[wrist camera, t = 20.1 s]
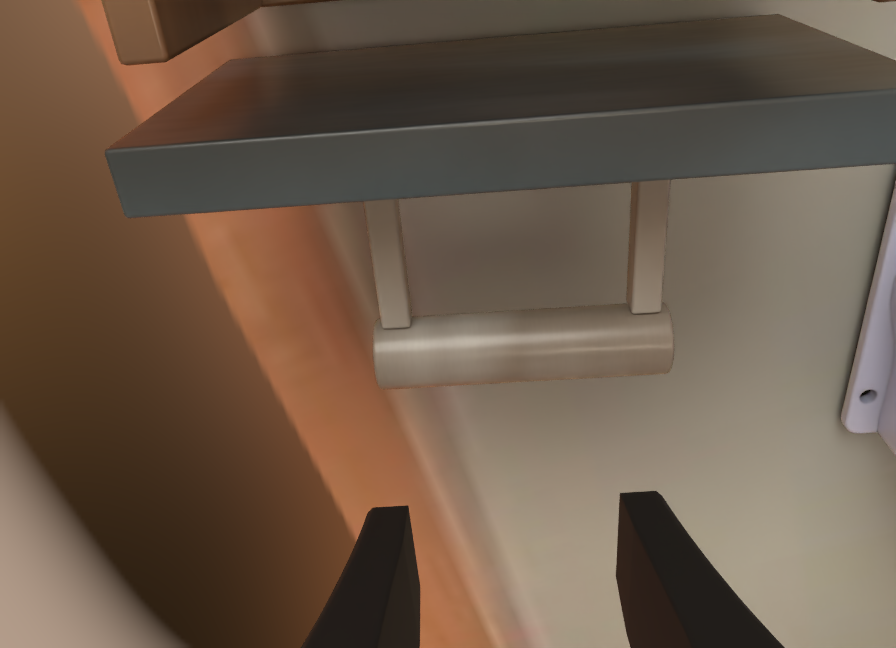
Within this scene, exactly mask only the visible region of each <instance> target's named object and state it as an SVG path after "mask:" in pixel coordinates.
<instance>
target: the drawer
mask: <svg viewBox="0 0 896 648" xmlns="http://www.w3.org/2000/svg"><path fill="white" fill-rule="evenodd" d="M328 1H340V0H102V4H103V7H104V11H105V14H106V17H107V21H108V24H109V28H110V31H111V34H112V38H113V41H114V45H115V48H116V51H117V55H118V58H119V61H120V62H121V64H124V65H137V64H149V63H161V62H167V61H168V60H170V59H172V58H174V57H175V56H177V55H179V54H181V53H182V52H184V51H186V50H188V49H189V48H191V47H193V46H195V45H196V44H198V43H200V42H201V41H203V40H205V39H207V38H208V37H210V36H212V35H214V34H215V33H217V32H219V31H221V30H222V29H224V28H226V27H228V26H229V25H231V24H233V23H234V22H236V21H238V20H240V19H241V18H243V17H245V16H247V15H248V14H250V13H252V12H254V11H255V10H257V9H259V8H260V7H271V6H282V5H294V4H305V3H317V2H328ZM872 1H876V2H890V1H896V0H872ZM105 157H106V159H107V163H108V166H109V169H110V172H111V175H112V178H113V181H114V184H115V187H116V190H117V193H118V196H119V199H120V203H121V206H122V209H123V212H124V215H125V216H126V217H127V218H138V217H152V216H167V215H181V214H195V213H209V212H223V211H237V210H252V209H266V208H280V207H294V206H308V205H322V204H336V203H350V202H363V204H364V211H365V217H366V224H367V231H368V238H369V244H370V251H371V258H372V265H373V271H374V278H375V285H376V292H377V298H378V305H379V312H380V319H377V320H376V321H375V324H374V329H373V362H374V370H375V376H376V381H377V384H378V386H379V388H380V389H383V390H385V389H403V388H421V387H439V386H456V385H474V384H492V383H510V382H528V381H546V380H564V379H582V378H599V377H617V376H635V375H653V374H666V373H668V372H670V370H671V368H672V365H673V360H674V331H673V324H672V319H671V315H670V312H669V309H668V307H667V305H666V304H665V303H664V302H662V292H663V278H664V264H665V251H666V237H667V223H668V209H669V196H670V182H671V180H673V179H687V178H701V177H715V176H729V175H743V174H757V173H771V172H785V171H799V170H814V169H828V168H842V167H856V166H870V165H884V164H896V61H895V60H893V59H890V58H888V57H885V56H883V55H880V54H878V53H875V52H873V51H870V50H868V49H865V48H863V47H860V46H858V45H855V44H852V43H850V42H847V41H845V40H842V39H840V38H837V37H835V36H832V35H830V34H827V33H825V32H822V31H820V30H817V29H815V28H812V27H810V26H807V25H805V24H802V23H800V22H797V21H795V20H792V19H790V18H787V17H785V16H782V15H779V14H773V15H761V16H749V17H737V18H725V19H713V20H701V21H689V22H677V23H665V24H653V25H641V26H629V27H617V28H605V29H593V30H581V31H569V32H557V33H545V34H533V35H521V36H509V37H497V38H485V39H473V40H461V41H449V42H437V43H425V44H413V45H402V46H390V47H378V48H366V49H354V50H342V51H330V52H318V53H306V54H294V55H282V56H270V57H258V58H246V59H234V60H229V61H228V62H226V63H225V64H223V65H222V66H221V67H219V68H218V69H216V70H215V71H214V72H212V73H211V74H210V75H208V76H207V77H205V78H204V79H203V80H201V81H200V82H199V83H197V84H196V85H194V86H193V87H192V88H190V89H189V90H187V91H186V92H185V93H183V94H182V95H181V96H179V97H178V98H176V99H175V100H174V101H172V102H171V103H169V104H168V105H167V106H165V107H164V108H163V109H161V110H160V111H158V112H157V113H156V114H154V115H153V116H151V117H150V118H149V119H147V120H146V121H145V122H143V123H142V124H140V125H139V126H138V127H136V128H135V129H134V130H132V131H131V132H129V133H128V134H127V135H125V136H124V137H122V138H121V139H120V140H118V141H117V142H116V143H114V144H113V145H111V146H110V147H109V148H107V149H106V150H105ZM631 182H632V185H631V207H630V229H629V251H628V274H627V296H626V300H627V303H624V304H608V305H592V306H576V307H559V308H543V309H527V310H511V311H495V312H478V313H462V314H446V315H430V316H413V317H412V306H411V298H410V290H409V282H408V274H407V266H406V258H405V249H404V241H403V233H402V225H401V217H400V209H399V200H398V199H406V198H420V197H434V196H448V195H462V194H476V193H490V192H504V191H518V190H533V189H547V188H561V187H575V186H589V185H603V184H617V183H631Z"/></svg>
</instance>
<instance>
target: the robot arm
mask: <svg viewBox="0 0 896 648" xmlns="http://www.w3.org/2000/svg"><path fill="white" fill-rule="evenodd" d="M866 390H870V392H869V393H867V394H866V395H863V396H860V395H861V394H862V393H863V392H864V391H866ZM841 421H842V423H843V424H844V426H845V427H846V429H847V430H848V431H850V432H852V433H876V432H878V433H879V435H880V436H881V437H882V439H883V440H884V441H885V443H886V444H887V445H888V447H889V448H890V449H891V450H892V452H893V453H894V454H895V456H896V182H895V187H894V191H893V195H892V199H891V204H890V208H889V212H888V217H887V221H886V225H885V229H884V234H883V238H882V242H881V247H880V251H879V255H878V260H877V264H876V268H875V272H874V277H873V281H872V285H871V290H870V294H869V298H868V302H867V307H866V311H865V315H864V320H863V324H862V328H861V333H860V337H859V341H858V345H857V350H856V354H855V358H854V363H853V367H852V371H851V375H850V380H849V384H848V388H847V393H846V397H845V401H844V406H843V410H842V414H841ZM616 579H617V584H618V590H619V595H620V601H621V606H622V612H623V617H624V622H625V627H626V632H627V636H628V640H629V643H630V647H631V648H784V646H783V645H782V644H781V643H780V642H779V641H778V640H777V639H776V638H775V637H774V636H773V635H772V634H771V633H770V632H769V631H768V629H767V628H766V627H765V626H764V625H763V624H762V623H761V622H760V621H759V620H758V619H757V617H756V616H755V615H754V614H753V613H752V612H751V611H750V610H749V608H748V607H747V606H746V605H745V604H744V603H743V602H742V600H741V599H740V598H739V597H738V596H737V595H736V593H735V592H734V591H733V590H732V589H731V587H730V586H729V585H728V584H727V583H726V581H725V580H724V579H723V578H722V576H721V575H720V574H719V573H718V572H717V570H716V569H715V568H714V567H713V566H712V564H711V563H710V562H709V560H708V559H707V558H706V557H705V555H704V554H703V553H702V551H701V550H700V549H699V547H698V546H697V545H696V543H695V542H694V541H693V539H692V538H691V537H690V536H689V534H688V533H687V531H686V530H685V529H684V527H683V526H682V524H681V523H680V522H679V520H678V519H677V517H676V516H675V514H674V513H673V512H672V510H671V509H670V507H669V506H668V504H667V503H666V501H665V500H664V498H663V497H662V495H660V494H659V493H658V492H657V491H648V492H631V493H620V503H619V524H618V545H617V566H616ZM419 647H420V582H419V575H418V569H417V562H416V555H415V548H414V542H413V535H412V528H411V521H410V515H409V508H408V506H393V507H376V508H372V509H371V510H370V511H369V512H368V513H367V516H366V519H365V522H364V525H363V527H362V530H361V532H360V535H359V537H358V539H357V542H356V544H355V546H354V549H353V551H352V553H351V555H350V558H349V560H348V562H347V564H346V566H345V568H344V570H343V572H342V574H341V577H340V578H339V580H338V582H337V584H336V586H335V588H334V590H333V592H332V594H331V596H330V598H329V600H328V601H327V603H326V605H325V607H324V609H323V611H322V613H321V614H320V616H319V618H318V620H317V622H316V623H315V625H314V627H313V629H312V630H311V632H310V633H309V635H308V637H307V638H306V640H305V642H304V643H303V645H302V647H301V648H419Z"/></svg>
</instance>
